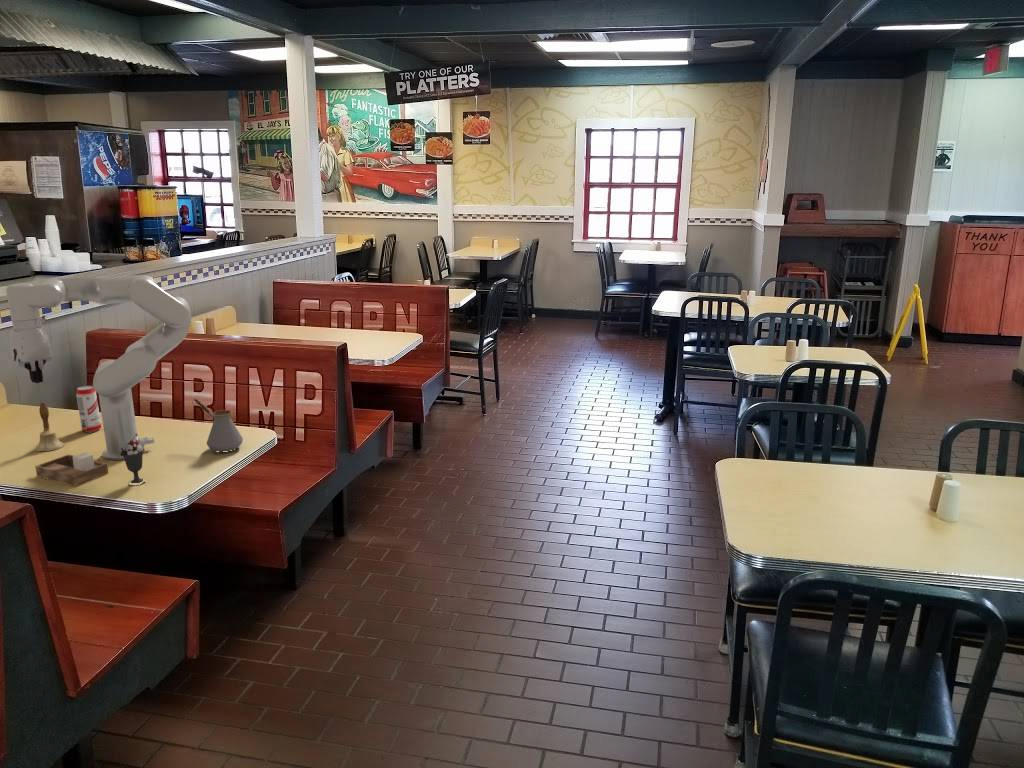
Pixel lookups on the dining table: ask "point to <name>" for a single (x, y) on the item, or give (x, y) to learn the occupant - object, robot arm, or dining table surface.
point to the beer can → (88, 408)
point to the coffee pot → (222, 431)
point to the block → (83, 461)
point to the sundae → (133, 458)
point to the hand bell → (47, 433)
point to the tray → (69, 471)
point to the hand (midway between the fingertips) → (37, 381)
